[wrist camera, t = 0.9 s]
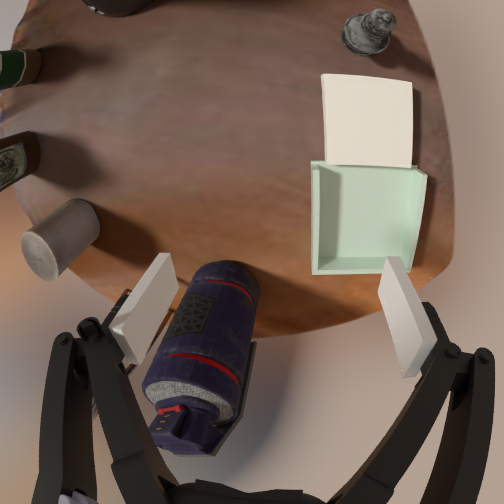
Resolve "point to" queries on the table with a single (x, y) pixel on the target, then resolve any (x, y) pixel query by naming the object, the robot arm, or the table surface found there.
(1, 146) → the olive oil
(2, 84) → the beer bottle
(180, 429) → the grenade
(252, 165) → the table surface
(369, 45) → the dark grey tall piece
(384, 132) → the white square slab
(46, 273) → the pillar candle
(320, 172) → the box
